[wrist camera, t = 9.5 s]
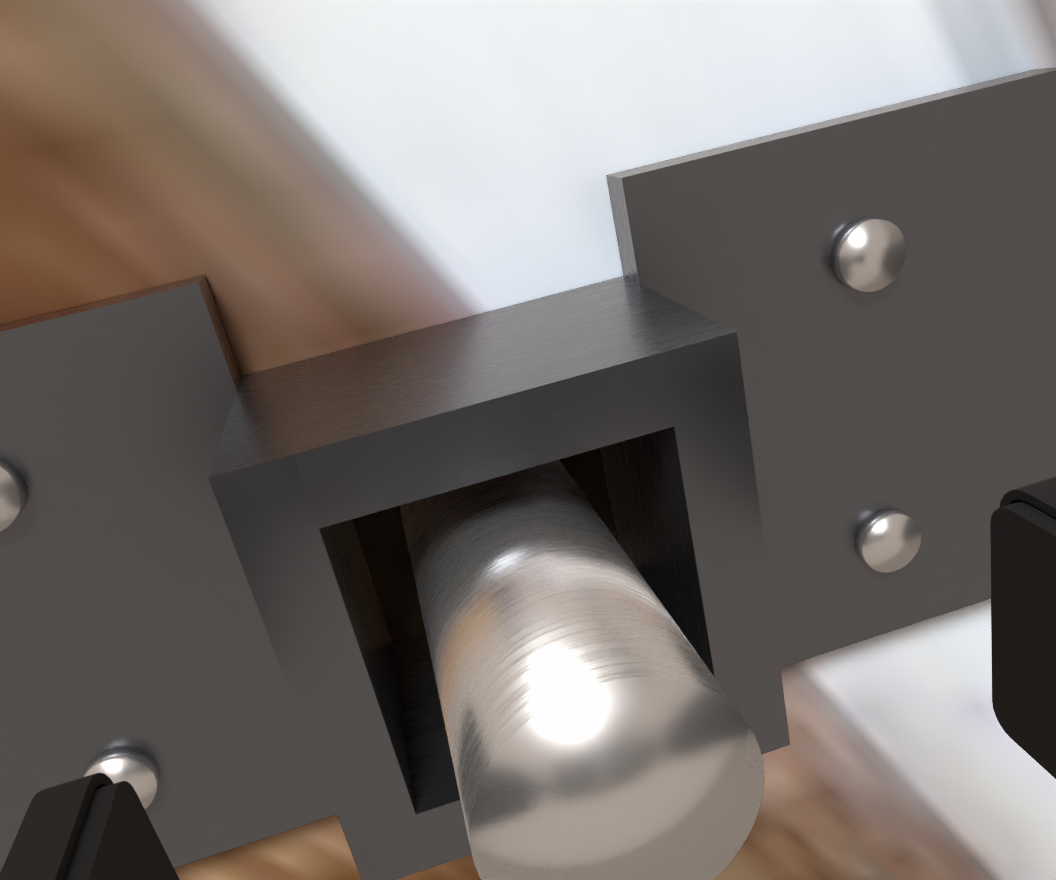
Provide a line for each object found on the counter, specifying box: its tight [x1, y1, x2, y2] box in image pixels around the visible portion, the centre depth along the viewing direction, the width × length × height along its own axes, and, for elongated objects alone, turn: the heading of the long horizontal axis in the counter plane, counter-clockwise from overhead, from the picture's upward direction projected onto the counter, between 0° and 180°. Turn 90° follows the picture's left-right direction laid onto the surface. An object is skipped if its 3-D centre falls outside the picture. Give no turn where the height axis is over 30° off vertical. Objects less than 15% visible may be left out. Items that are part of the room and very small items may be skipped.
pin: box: [400, 460, 764, 880], centre depth 12 cm, size 3×3×8 cm
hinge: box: [0, 68, 1056, 880], centre depth 14 cm, size 23×10×4 cm, turn 103°
